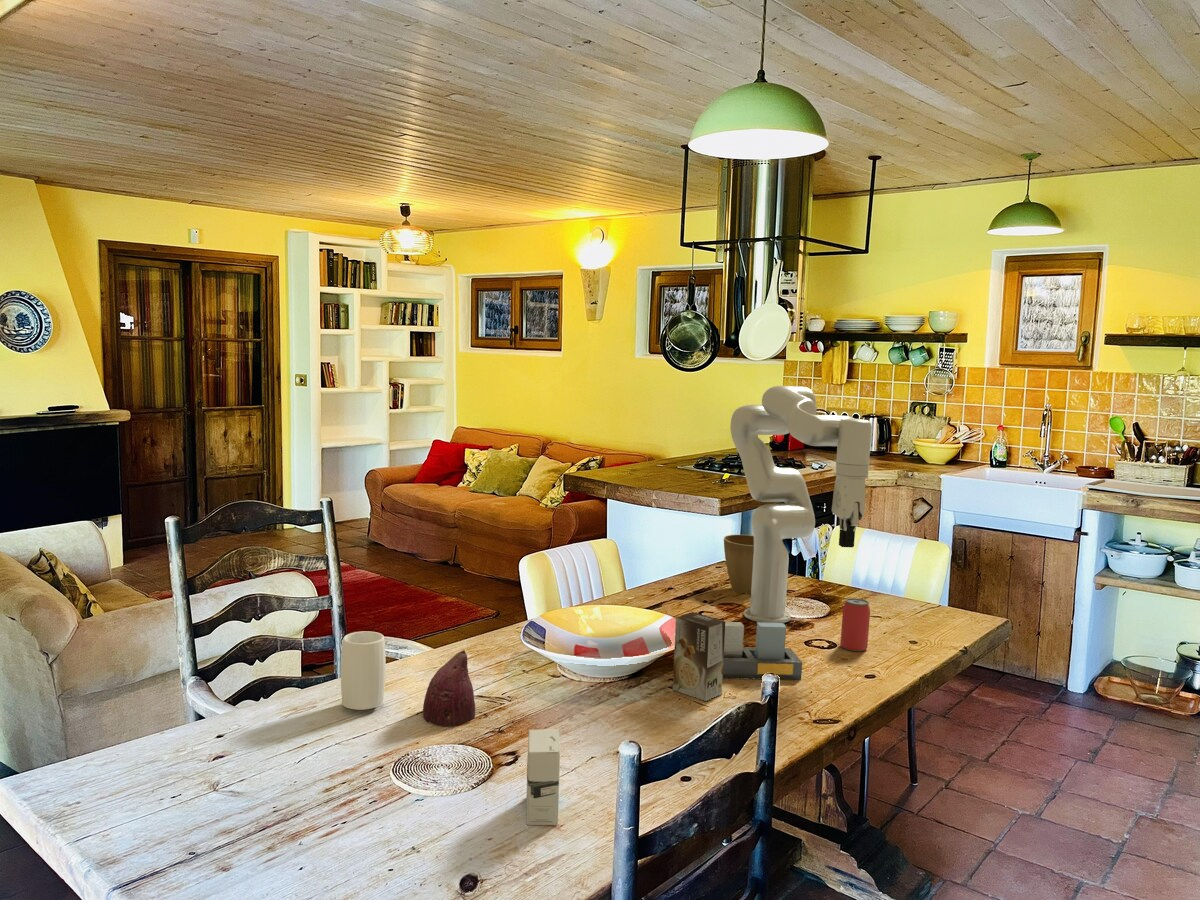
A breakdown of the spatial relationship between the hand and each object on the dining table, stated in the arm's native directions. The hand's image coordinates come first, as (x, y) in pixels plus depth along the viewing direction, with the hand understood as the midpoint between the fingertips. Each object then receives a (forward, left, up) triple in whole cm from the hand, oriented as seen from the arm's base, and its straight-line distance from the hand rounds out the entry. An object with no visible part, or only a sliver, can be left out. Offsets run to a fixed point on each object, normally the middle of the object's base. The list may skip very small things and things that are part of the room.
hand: (846, 546), depth 216 cm
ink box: (+75, -72, -27) cm, 108 cm away
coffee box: (+25, -39, -27) cm, 54 cm away
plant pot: (-57, -10, -27) cm, 64 cm away
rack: (+12, -25, -27) cm, 39 cm away
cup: (+36, -107, -27) cm, 116 cm away
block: (+12, -20, -26) cm, 35 cm away
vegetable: (+39, -90, -27) cm, 102 cm away
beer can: (-6, +6, -27) cm, 29 cm away
